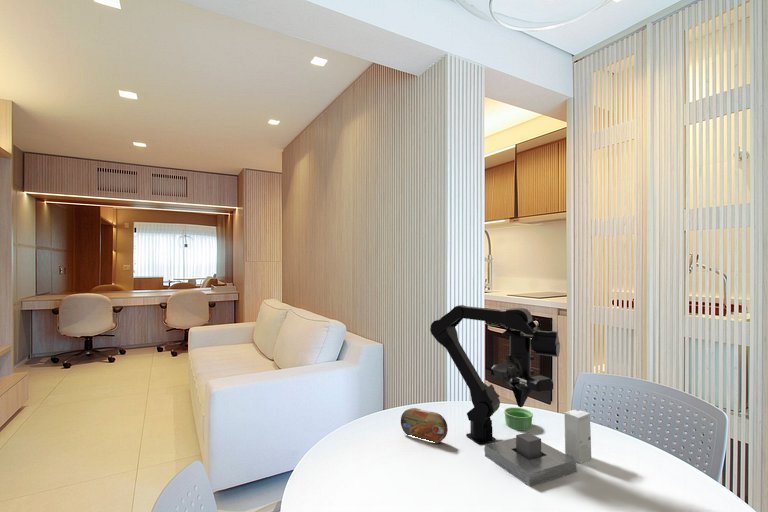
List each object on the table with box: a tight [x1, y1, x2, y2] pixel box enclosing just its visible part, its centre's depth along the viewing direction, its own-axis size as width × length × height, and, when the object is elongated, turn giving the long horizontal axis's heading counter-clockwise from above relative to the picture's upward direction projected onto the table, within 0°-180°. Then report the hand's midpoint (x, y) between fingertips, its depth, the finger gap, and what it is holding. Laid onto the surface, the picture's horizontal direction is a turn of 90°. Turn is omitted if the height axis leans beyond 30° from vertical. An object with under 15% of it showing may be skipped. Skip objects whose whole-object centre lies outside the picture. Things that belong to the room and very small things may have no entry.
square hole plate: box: [484, 437, 578, 487], centre depth 99 cm, size 16×16×3 cm
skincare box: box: [564, 408, 592, 464], centre depth 102 cm, size 6×4×12 cm
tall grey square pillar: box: [515, 431, 542, 460], centre depth 99 cm, size 4×4×7 cm
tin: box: [400, 407, 449, 444], centre depth 113 cm, size 15×3×8 cm, turn 56°
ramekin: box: [503, 406, 534, 431], centre depth 124 cm, size 9×9×4 cm
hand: (520, 406), depth 107 cm, fingers closed
